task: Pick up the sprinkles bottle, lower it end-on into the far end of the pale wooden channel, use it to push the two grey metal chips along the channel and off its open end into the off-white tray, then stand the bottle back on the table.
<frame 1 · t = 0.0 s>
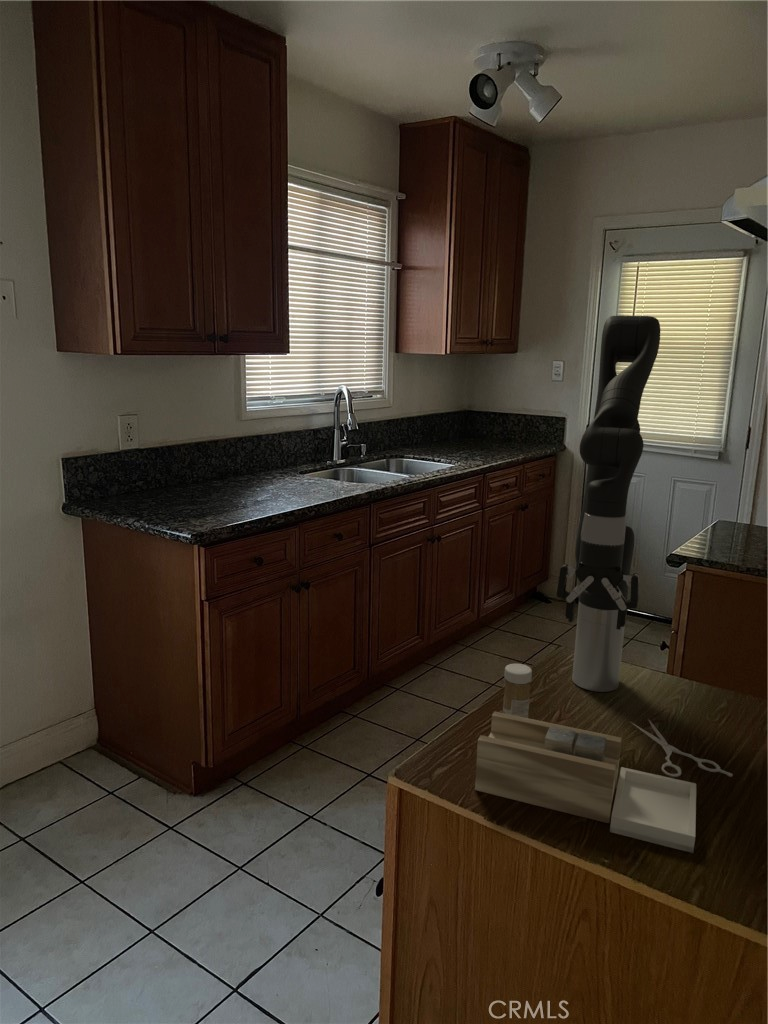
hand: (594, 624, 139), 17 cm above the countertop, tool pointing down, fingers open, 8 cm apart
scissors: (668, 750, 131), on the countertop
chip a: (558, 758, 116), point 5 cm above the countertop, touching channel
channel: (546, 788, 117), on the countertop
tray: (653, 814, 111), on the countertop
chip b: (588, 765, 114), point 5 cm above the countertop, touching channel
sprinkles bottle: (513, 741, 132), on the countertop
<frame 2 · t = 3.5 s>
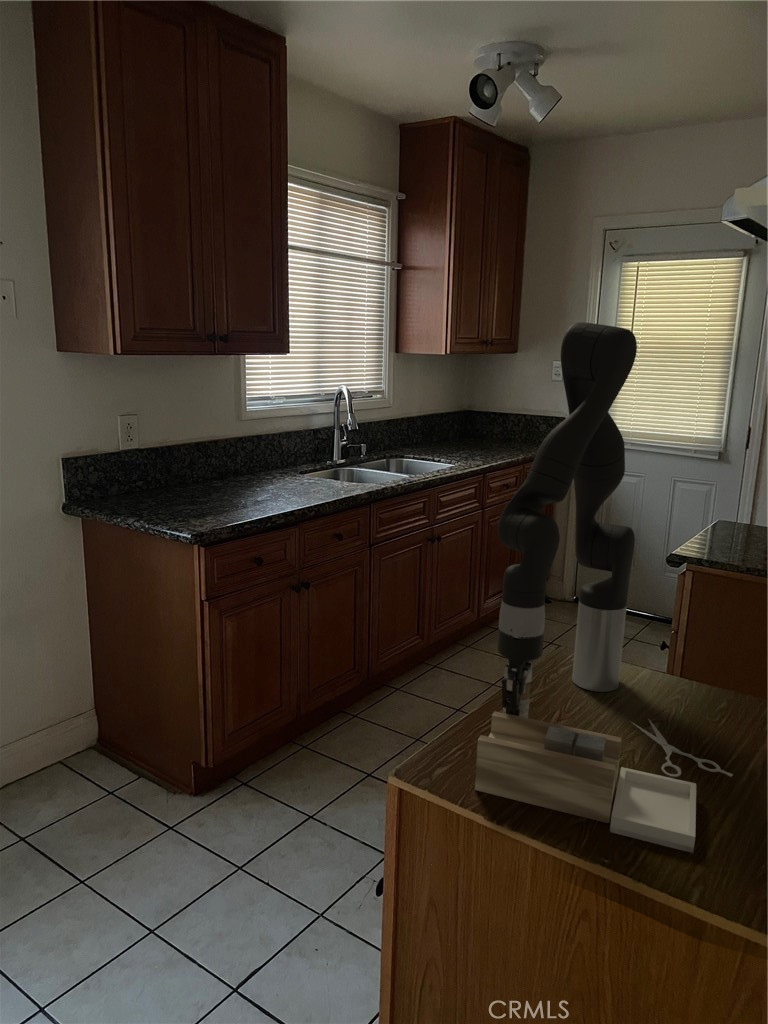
hand: (515, 719, 131), 4 cm above the countertop, tool pointing down, fingers closed on sprinkles bottle, 4 cm apart
sprinkles bottle: (513, 741, 132), on the countertop, touching gripper
everything else where it was.
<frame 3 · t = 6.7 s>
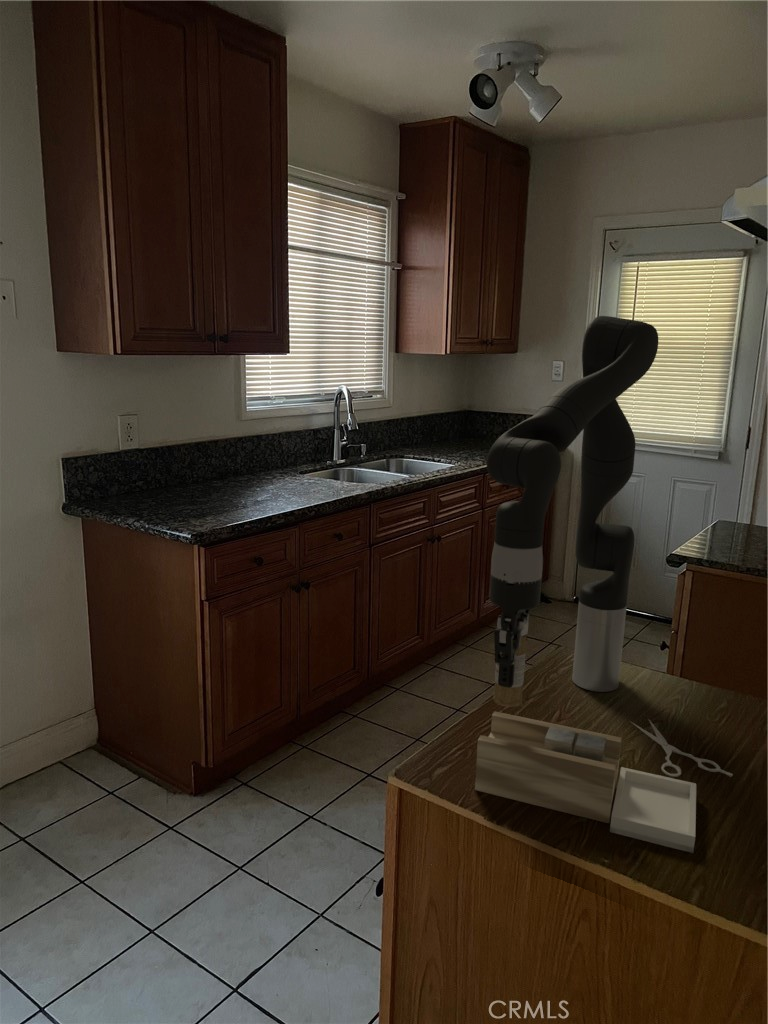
hand: (509, 678, 116), 17 cm above the countertop, tool pointing down, fingers closed on sprinkles bottle, 4 cm apart
sprinkles bottle: (507, 702, 117), point 13 cm above the countertop, touching gripper
everything else where it was.
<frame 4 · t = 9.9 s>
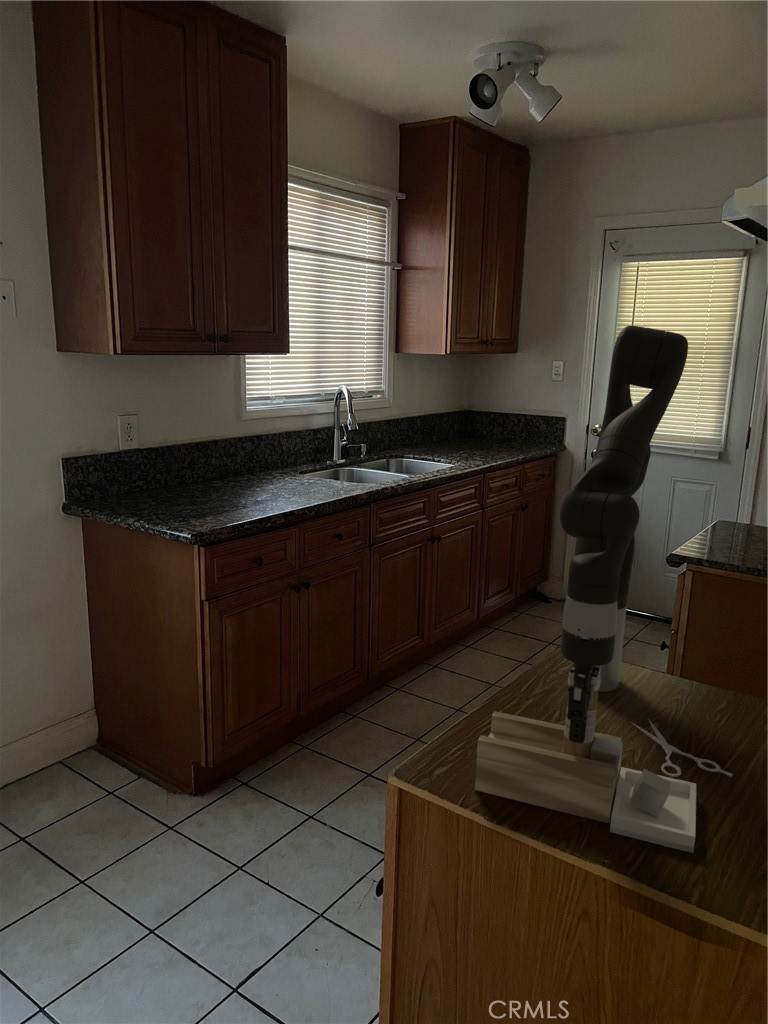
hand: (579, 733, 114), 10 cm above the countertop, tool pointing down, fingers closed on sprinkles bottle, 4 cm apart
chip a: (604, 769, 113), point 6 cm above the countertop, touching channel
chip b: (637, 785, 112), point 4 cm above the countertop, tilted 107°, touching tray
sprinkles bottle: (576, 757, 114), point 6 cm above the countertop, touching gripper
everything else where it was.
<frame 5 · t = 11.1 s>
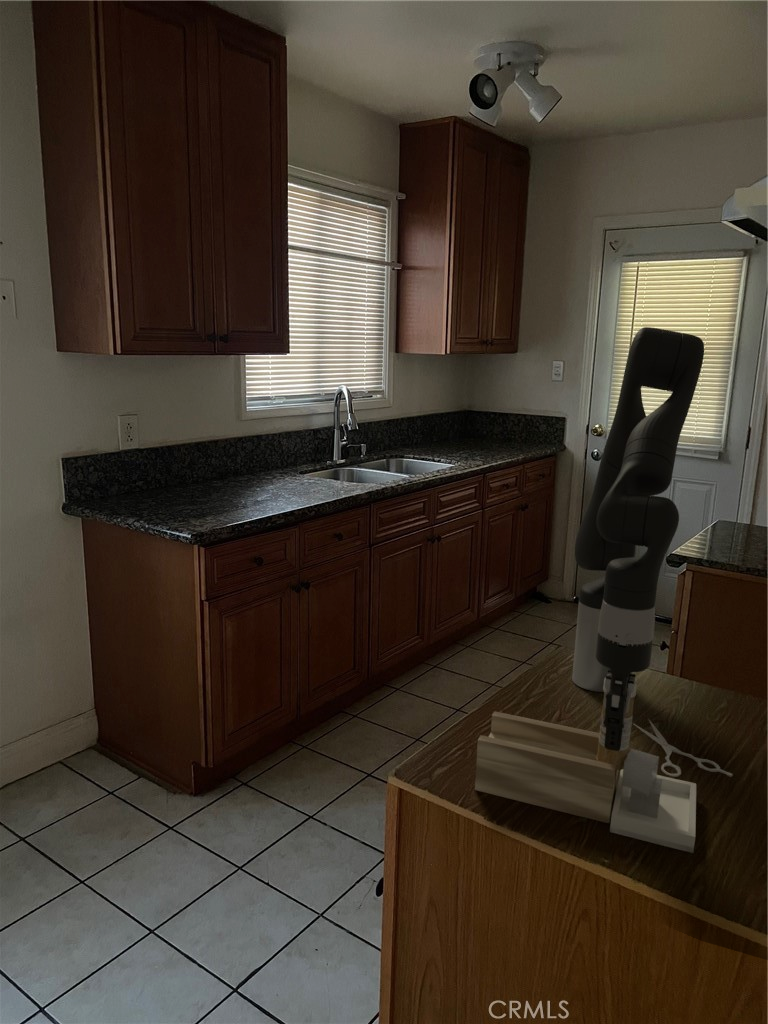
hand: (614, 740, 112), 10 cm above the countertop, tool pointing down, fingers closed on sprinkles bottle, 4 cm apart
chip a: (638, 783, 111), point 5 cm above the countertop, touching chip b, sprinkles bottle
chip b: (631, 791, 112), point 3 cm above the countertop, tilted 91°, touching chip a, tray
sprinkles bottle: (611, 764, 113), point 6 cm above the countertop, touching chip a, gripper
everything else where it was.
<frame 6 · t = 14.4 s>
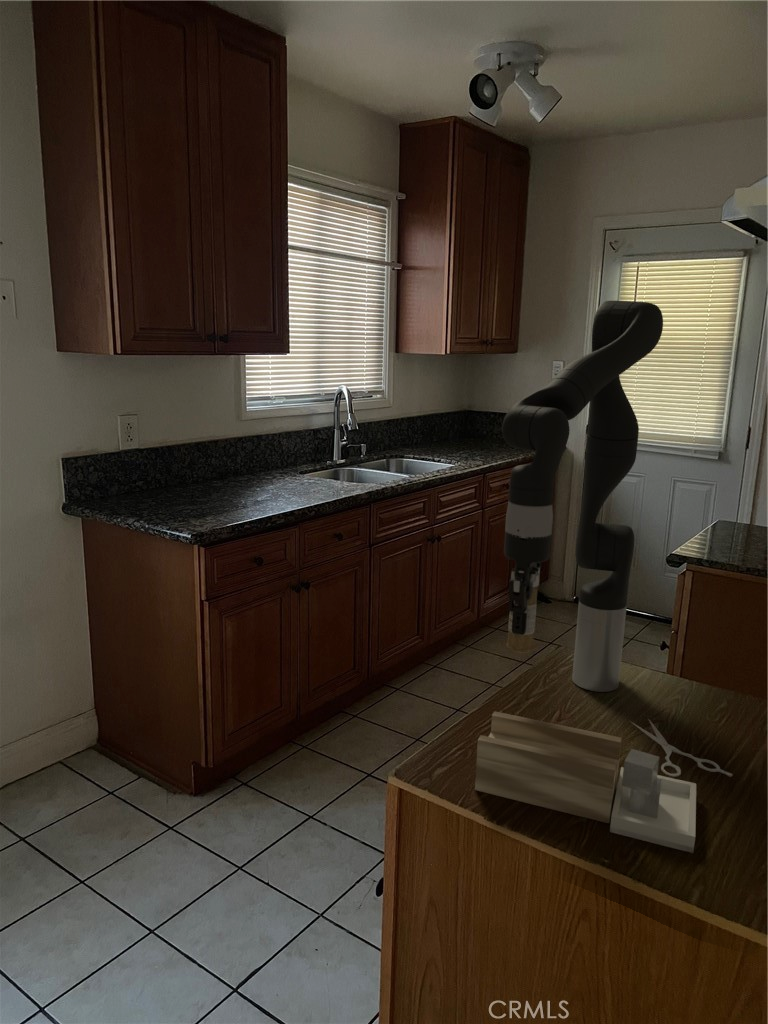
hand: (521, 627, 127), 21 cm above the countertop, tool pointing down, fingers closed on sprinkles bottle, 4 cm apart
chip a: (639, 783, 111), point 5 cm above the countertop, touching chip b
sprinkles bottle: (520, 650, 128), point 17 cm above the countertop, touching gripper
everything else where it was.
when the fingers open (5 cm above the countertop, at t = 17.4 s): sprinkles bottle drops 1 cm, on the countertop.
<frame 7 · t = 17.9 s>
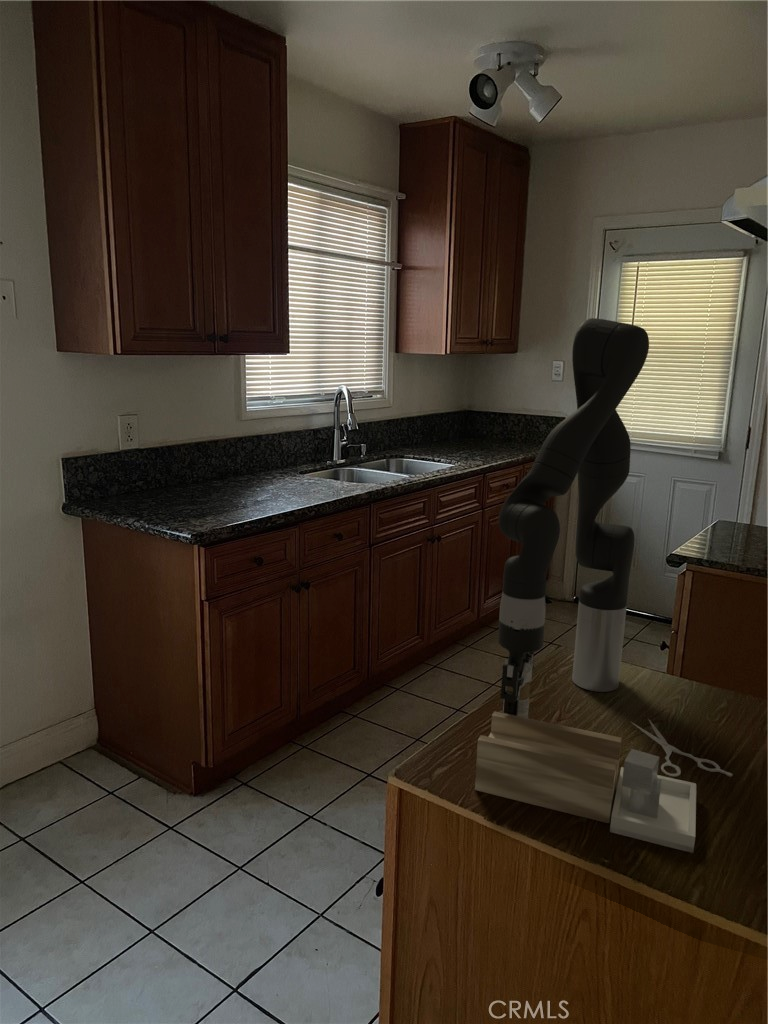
hand: (515, 707, 130), 6 cm above the countertop, tool pointing down, fingers open, 8 cm apart
sprinkles bottle: (513, 740, 132), on the countertop
everything else where it was.
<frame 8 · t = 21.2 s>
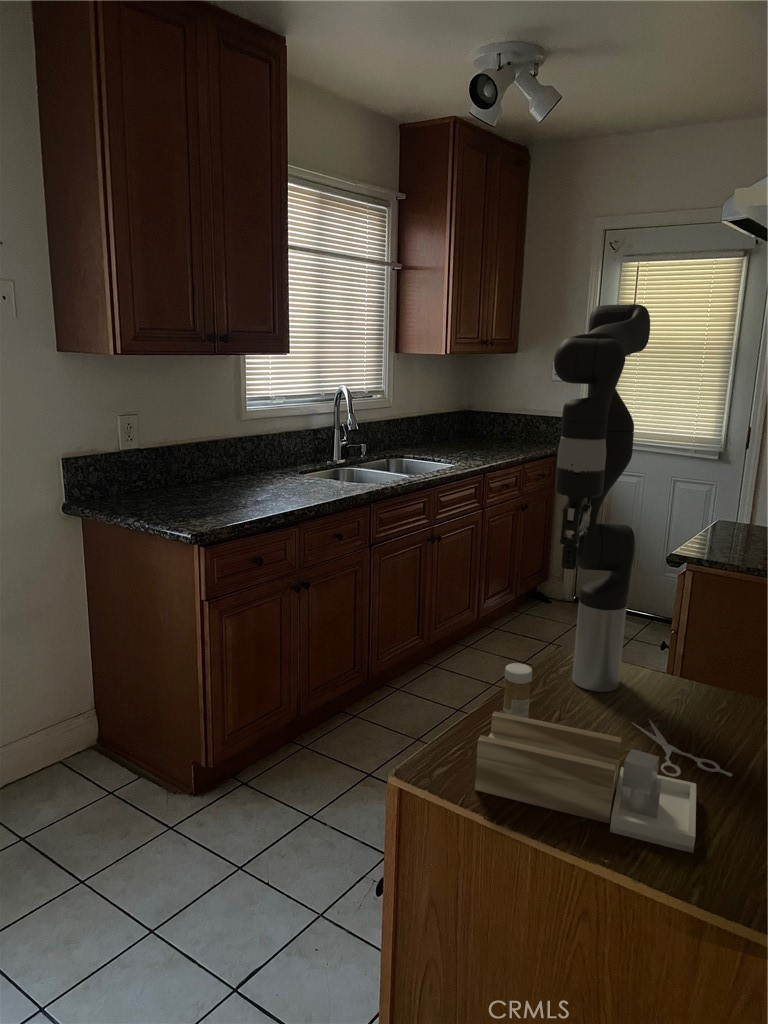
hand: (572, 561, 126), 32 cm above the countertop, tool pointing down, fingers open, 8 cm apart
nothing on the countertop moved.
at the end: chip a inside the target area on the tray (2.5 cm from its centre), point 4.8 cm above the tray's base; chip b inside the target area on the tray (3.5 cm from its centre), point 2.8 cm above the tray's base; sprinkles bottle tilted 0° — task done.
